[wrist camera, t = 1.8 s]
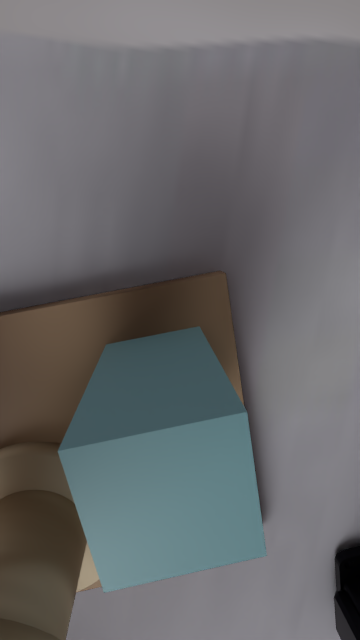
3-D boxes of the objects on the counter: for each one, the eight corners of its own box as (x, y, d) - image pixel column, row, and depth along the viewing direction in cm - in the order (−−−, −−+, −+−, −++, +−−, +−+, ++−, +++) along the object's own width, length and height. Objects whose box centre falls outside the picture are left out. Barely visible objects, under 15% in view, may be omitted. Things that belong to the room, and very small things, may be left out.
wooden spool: (106, 425, 12) (56, 627, 6) (143, 559, 14) (135, 827, 8) (-74, 462, 12) (-336, 717, 6) (-14, 594, 14) (-159, 903, 7)
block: (199, 326, 12) (246, 411, 6) (213, 409, 12) (266, 555, 7) (106, 344, 11) (57, 451, 6) (126, 426, 12) (103, 593, 6)
